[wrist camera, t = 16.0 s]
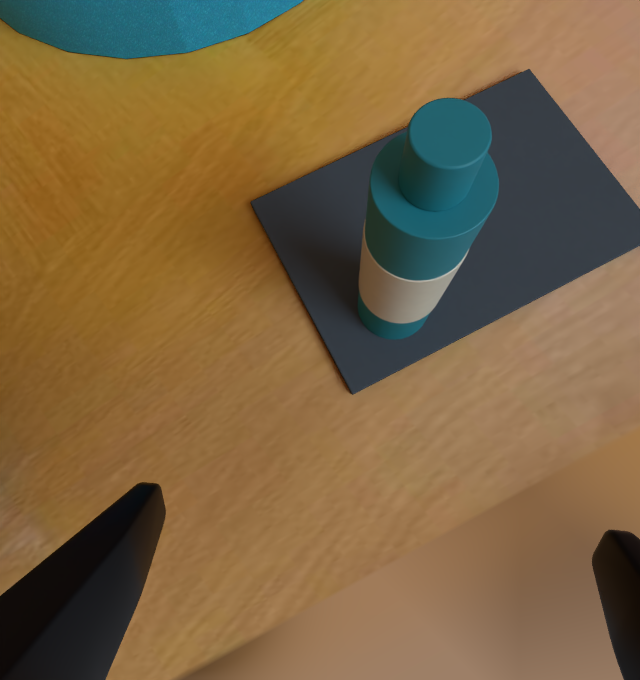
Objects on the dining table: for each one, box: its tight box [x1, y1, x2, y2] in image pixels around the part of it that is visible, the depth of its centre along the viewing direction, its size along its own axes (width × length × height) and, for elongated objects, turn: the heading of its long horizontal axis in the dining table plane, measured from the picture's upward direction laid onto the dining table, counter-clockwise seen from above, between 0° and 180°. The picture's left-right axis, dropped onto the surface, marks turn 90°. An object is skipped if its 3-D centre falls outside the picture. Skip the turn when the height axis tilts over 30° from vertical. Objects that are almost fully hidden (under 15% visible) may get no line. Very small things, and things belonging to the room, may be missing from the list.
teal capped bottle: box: [358, 98, 499, 340], centre depth 17 cm, size 4×4×13 cm
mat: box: [251, 69, 640, 395], centre depth 25 cm, size 12×18×1 cm, turn 117°
